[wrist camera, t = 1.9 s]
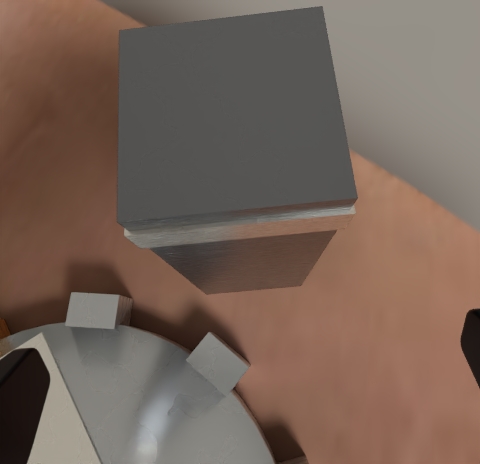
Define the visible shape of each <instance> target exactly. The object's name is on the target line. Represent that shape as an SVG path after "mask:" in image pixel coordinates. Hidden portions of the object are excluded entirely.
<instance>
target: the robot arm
mask: <svg viewBox="0 0 480 464" xmlns="http://www.w3.org/2000/svg"><path fill="white" fill-rule="evenodd" d="M461 348H462V351H463V353H464V355H465V357H466V360H467V362H468V364H469V366H470V368H471V371H472V373H473V375H474V377H475V379H476V381H477V384H478V386H479V388H480V309H472V310H469V311H468V313H467V315H466V318H465V323H464V327H463V331H462V335H461ZM49 387H50V373H49V371H48V369H47V367H46V365H45V363H44V361H43V359H42V357H41V355H40V353H39V351H38V350H37V349H35V348H20V349H15V350H13V351H11V352H10V353H9V354H7V355H6V356H5V357H3V358H2V359H0V464H27V462H28V460H29V457H30V453H31V450H32V447H33V444H34V440H35V437H36V433H37V429H38V426H39V422H40V419H41V415H42V412H43V408H44V404H45V401H46V397H47V394H48V390H49Z"/></svg>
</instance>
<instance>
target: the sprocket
mask: <svg viewBox="0 0 480 464" xmlns="http://www.w3.org/2000/svg"><path fill="white" fill-rule="evenodd" d="M132 305H133V299H131V298H127V297H124V296H121V295H113V294H95V293H78V292H71V296H70V302H69V307H68V313H67V318H66V322H64V323H56V324H48V325H44V326H40V327H36V328H32V329H28V330H24V331H21V332H18V333H15V334H13V335H11V333H10V331H9V329H8V326H7V324H6V322H5V319H0V359H2V358H3V357H5V356H6V355H7V354H9V353H10V352H11V351H13V350H15V349H20V348H35V349H37V350H38V351H39V353H40V355H41V357H42V359H43V361H44V363H45V365H46V367H47V369H48V371H49V373H50V387H49V390H48V394H47V397H46V401H45V404H44V408H43V412H42V415H41V419H40V422H39V426H38V429H37V433H36V437H35V440H34V444H33V447H32V450H31V453H30V457H29V460H28V462H27V464H309V463H308V460H307V458H306V455H305V456H302V457H298V458H294V459H291V460H287V461H283V462H280V463H276V460H275V457H274V455H273V452H272V449H271V447H270V445H269V443H268V441H267V439H266V437H265V435H264V433H263V431H262V429H261V427H260V425H259V423H258V422H257V420H256V418H255V417H254V415H253V414H252V413H251V411H250V410H249V408H248V407H247V405H246V404H245V402H244V401H243V399H242V398H241V396H240V395H239V394H238V393H237V392H236V391H235V390H234V389H233V388H234V386H235V385H236V384H237V382H238V381H239V380H240V379H241V377H242V376H243V375H244V373H245V372H246V371H247V370H248V368H249V367H250V365H251V364H250V363H248V362H247V361H246V360H245V359H244V358H243V357H241V356H240V355H239V354H238V353H237V352H236V351H235V350H233V349H232V348H231V347H230V346H229V345H228V344H227V343H225V342H224V341H223V340H222V339H221V338H220V337H219V336H217V335H216V334H215V333H212V332H208V334H207V335H206V336H205V337H204V339H203V340H202V341H201V342H200V343H199V345H198V346H197V347H196V348H195V350H194V351H193V352H191V351H190V350H188V349H187V348H185V347H184V346H182V345H181V344H178V343H176V342H174V341H172V340H170V339H168V338H166V337H164V336H161V335H159V334H156V333H153V332H150V331H147V330H143V329H140V328H137V327H132V326H130V319H131V312H132Z"/></svg>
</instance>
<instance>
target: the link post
mask: <svg viewBox="0 0 480 464" xmlns="http://www.w3.org/2000/svg"><path fill="white" fill-rule="evenodd" d="M357 198H358V197H357V191H356V186H355V180H354V175H353V170H352V164H351V159H350V153H349V148H348V143H347V137H346V132H345V126H344V122H343V116H342V110H341V105H340V99H339V94H338V88H337V83H336V78H335V72H334V67H333V62H332V56H331V51H330V45H329V40H328V34H327V29H326V23H325V18H324V13H323V7H322V6H320V7H311V8H303V9H295V10H287V11H278V12H269V13H262V14H253V15H244V16H236V17H228V18H219V19H211V20H202V21H193V22H185V23H177V24H168V25H159V26H151V27H142V28H134V29H125V30H119V102H118V184H117V222H118V223H119V224H120V225H121V226H123V227H124V236H125V237H126V238H128V239H129V240H130V241H132V242H133V243H134V244H136V245H137V246H138V247H139V248H141V249H143V248H150V249H151V250H152V251H153V252H155V253H156V254H157V255H158V256H160V257H161V258H162V259H163V260H164V261H166V262H167V263H168V264H169V265H171V266H172V267H173V268H174V269H175V270H177V271H178V272H179V273H180V274H182V275H183V276H184V277H185V278H187V279H188V280H189V281H190V282H191V283H193V284H194V285H195V286H196V287H198V288H199V289H200V290H201V291H203V292H204V293H205V294H217V293H228V292H239V291H250V290H261V289H272V288H283V287H294V286H301V285H302V283H303V282H304V280H305V279H306V277H307V276H308V274H309V273H310V271H311V269H312V268H313V266H314V265H315V263H316V262H317V260H318V259H319V257H320V256H321V254H322V252H323V251H324V249H325V248H326V246H327V245H328V243H329V242H330V240H331V239H332V237H333V236H334V234H335V232H336V231H337V230H340V229H345V228H346V226H347V225H348V223H349V222H350V221H351V219H352V218H353V216H354V215H355V214H356V213H355V208H354V203H355V202H356V200H357Z"/></svg>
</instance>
